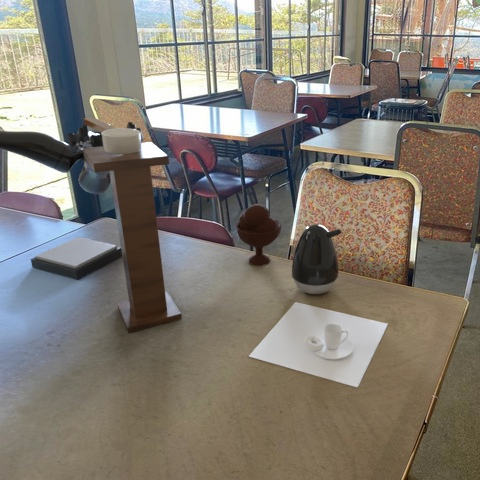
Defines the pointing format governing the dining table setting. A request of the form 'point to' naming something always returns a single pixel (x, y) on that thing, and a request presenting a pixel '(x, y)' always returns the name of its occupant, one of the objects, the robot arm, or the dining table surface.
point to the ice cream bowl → (258, 231)
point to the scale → (76, 257)
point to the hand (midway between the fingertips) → (108, 128)
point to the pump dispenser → (315, 260)
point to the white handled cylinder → (116, 137)
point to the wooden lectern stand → (137, 234)
